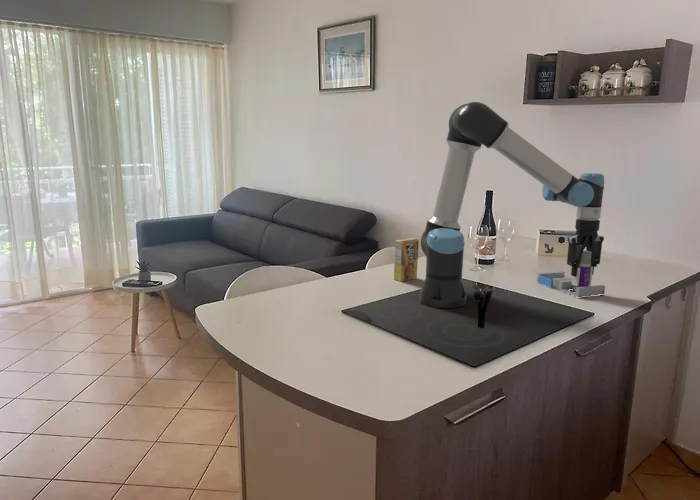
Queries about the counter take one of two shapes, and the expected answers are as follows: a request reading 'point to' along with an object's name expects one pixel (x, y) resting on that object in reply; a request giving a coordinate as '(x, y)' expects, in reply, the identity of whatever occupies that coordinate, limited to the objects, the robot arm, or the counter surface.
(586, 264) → the container
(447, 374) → the counter surface
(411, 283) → the counter surface
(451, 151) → the robot arm
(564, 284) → the grey and blue rack
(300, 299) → the counter surface
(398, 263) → the candy box
